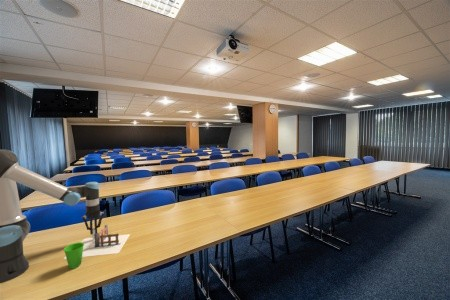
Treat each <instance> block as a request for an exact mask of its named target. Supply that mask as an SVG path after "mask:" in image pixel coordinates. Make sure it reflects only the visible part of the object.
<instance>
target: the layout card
mask: <svg viewBox="0 0 450 300" xmlns="http://www.w3.org/2000/svg"><path fill="white" fill-rule="evenodd" d="M130 235H131V233H129V234H128V233H127V234H119V236H118V240H119V242H118V245H116V243H111V245H108V243H107V244H104V245H103V246H101V244H99V247H95V239H93V238H92V237H85V238H83V240H82V241H80V242H82V243H84V246H83V253H82V258H85V257H94V256H103V255H106V256H107V255H113V254H119V253H120V252H121V250H122V249H123V247H124V245H125V243H127V240H128V239H129V238H130ZM114 240H116V236H115V237H111V241H114ZM103 241H108V237H104V240H103ZM62 259H63V260H67V258H66V256H64V257H63V258H62Z"/></svg>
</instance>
